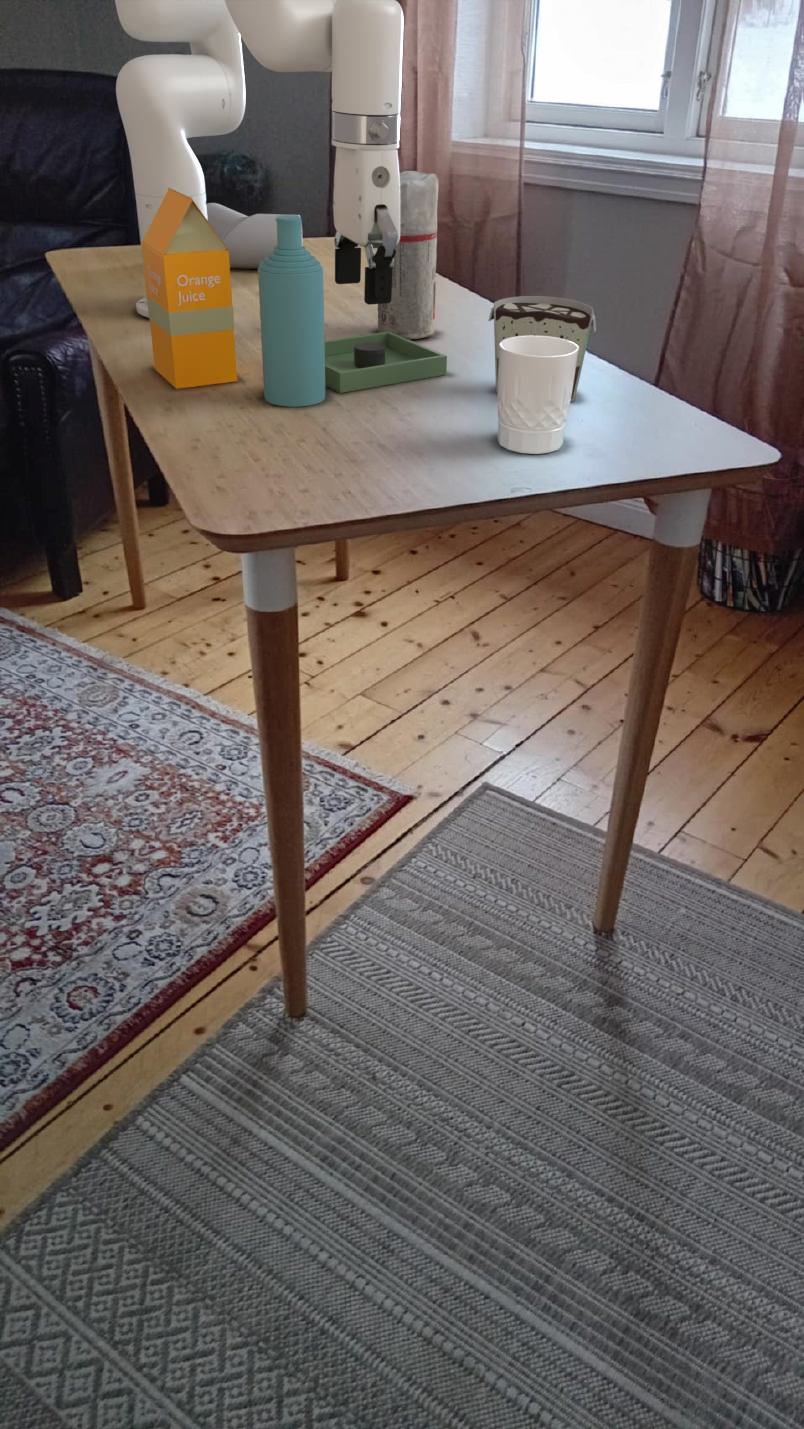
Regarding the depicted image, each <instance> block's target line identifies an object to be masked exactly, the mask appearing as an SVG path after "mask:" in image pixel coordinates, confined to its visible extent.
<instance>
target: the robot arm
mask: <svg viewBox="0 0 804 1429" xmlns="http://www.w3.org/2000/svg"><path fill="white" fill-rule="evenodd" d="M114 2H115V4H114V5H115V8H116V12H117V16H118V20H119V23H120V25H121V27H122V29H123V30H124V32H125V33H126V34H127V35H128V36H129V37H131V38H133V39H135V40H138V41H141V42H150V43H151V42H153V43H189V47H190V53H191V54H182V53H181V54H180V53H177V54H175V53H174V54H173V53H172V54H171V53H170V54H166V53H165V54H146V55H141V56H138V57H135V58H132V59H130V60H128V61H127V62H126V63H125V64H124V65H122V67H121V69H120V70H119V72H118V75H117V78H116V82H115V94H116V103H117V107H118V111H119V114H120V118H121V122H122V124H123V128H124V132H125V136H126V140H127V146H128V152H129V157H130V163H131V171H132V179H133V187H134V195H135V204H136V205H135V206H136V213H137V223H138V232H139V241H140V243H141V241H143V239H144V237H145V235H146V233H147V231H148V229H149V227H150V225H151V223H152V221H153V219H154V217H155V215H156V213H157V211H158V209H159V207H160V205H161V203H162V201H163V199H164V197H165V195H166V193H167V191H168V189H169V188H171V189H173V190H175V191H177V192H179V193H181V194H184V195H186V196H188V197H190V198H192V199H193V201H194V202H195V204H196V205H197V207H198V208H199V209H200V211H201V212H202V214H203V215H204V216H205V218H206V219H207V221H208V217H207V204H208V203H207V192H206V181H205V175H204V172H203V168H202V166H201V163H200V162H199V160H198V158H197V156H196V155H195V153H194V151H193V149H192V148H191V146H190V144H189V143H188V139H191V138H199V137H212V136H222V135H223V136H224V135H227V134H230V133H232V132H234V131H235V130H237V129H238V128H239V126H240V125H241V123H242V121H243V119H244V115H245V112H246V104H247V103H246V100H247V99H246V97H247V94H246V80H245V67H244V57H243V46H242V41H243V42H244V44H245V46H246V47H247V49H248V51H249V52H250V54H251V55H252V56H253V57H254V59H255V60H256V61H257V62H258V63H259V64H260V65H261V66H262V67H264V68H266V69H268V70H270V71H273V72H275V73H301V72H316V73H328V72H330V73H331V145H332V146H333V147H336V148H335V158H334V160H335V162H334V174H333V197H332V198H333V200H332V202H333V204H332V211H333V227H332V228H333V230H334V232H335V235H334V239H333V245H334V282H335V283H336V284H337V285H348V284H349V285H351V284H359V283H360V282H361V280H362V279H361V278H362V277H361V275H362V247H363V249H364V253H365V257H366V261H367V266H365V267H364V294H363V295H364V297H363V300H364V303H365V304H366V305H369V306H370V305H378V304H385V303H390V302H391V297H392V268H393V267H394V256H395V254H396V250H395V246H396V244H398V242H399V240H400V163H399V162H400V161H399V156H398V154H399V153H398V149H399V148H400V131H401V130H400V128H401V99H402V96H401V95H402V73H403V72H402V68H403V46H404V44H403V43H404V42H403V41H404V12H403V8H402V6H401V4H400V3H399V2H398V1H397V0H114ZM168 187H169V188H168ZM377 248H378V249H377ZM374 249H376V252H375V251H374ZM140 250H141V252H142V246H141V245H140ZM141 259H142V260H141V261H142V262H143V255H142V254H141ZM142 269H143V271H144V264H143V263H142ZM143 278H144V280H145V273H144V272H143ZM144 287H145V289H146V283H145V282H144ZM135 307H136V312H137V314H139V315H140V316H142V317H144V318H148V319H149V314H148V305H147V292H146V291H145V297H143V298H141V299H139V300H138V301H137V302H136V303H135Z"/></svg>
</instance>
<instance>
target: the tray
mask: <svg viewBox="0 0 804 1429" xmlns="http://www.w3.org/2000/svg"><path fill="white" fill-rule="evenodd" d="M363 342H375V343H380V344H383V345H385V365H379V366H372V367H366V368H357V367H355V366H354V345H356V344H358V343H363ZM324 344H325V387H328V388H330V389H332V390H333V391H335V392H337V393H339V394H342V393H349V392H354V391H361V390H366V389H371V388H377V387H383V386H390V385H395V384H401V383H406V382H412V381H417V380H423V379H429V378H430V379H431V378H435V377H440V376H445V375H447V366H448V365H447V364H448V355H446V354H443V353H442V352H439V351H437V350H434V349H431V348H429V347H427V346H425V345H422V344H420V343H417V342H415V341H412V340H411V339H406V338H403V337H401V336H398V335H396V334H394V333H391V332H389V331H387V332H381V333H379V332H375V333H367V334H362V335H361V334H360V335H353V336H347V337H341V338H334V339H326V340H324Z"/></svg>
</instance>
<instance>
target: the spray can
mask: <svg viewBox="0 0 804 1429" xmlns="http://www.w3.org/2000/svg"><path fill="white" fill-rule="evenodd" d="M399 174H400V240H399V242H398V244H396V246H395V250H396V254H395V256H394V267H393V268H392V297H391V302H390V303H385V304H377V331H378V333H381V332H387V331H389V332H391V333H394V334H396V335H398V336H401V337H403V338H406V339H408V340H417V339H418V340H419V339H425V338H429V337H431V336H434V335H435V334H436V328H435V321H436V290H437V289H436V288H437V287H436V283H437V281H436V280H437V257H438V256H437V243H438V238H437V237H438V236H437V235H438V233H437V232H438V201H439V186H440V184H439V183H440V179H439V177H438V176H437V174H435V173H424V172H418V170H405V171H402V172H399ZM377 249H378V248H376V250H377Z"/></svg>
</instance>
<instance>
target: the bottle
mask: <svg viewBox="0 0 804 1429" xmlns="http://www.w3.org/2000/svg"><path fill="white" fill-rule="evenodd" d="M281 215H282V216H278V217H277V218H276V221H277V245H278V246H276V247H274V251H271V252H270V253H269V255H268V256H266V257H265V260H263V261H261V262H260V266H259V267H258V269H257V276H258V279H257V280H258V296H259V299H258V300H259V316H260V317H259V318H260V335H261V336H260V337H261V355H262V356H261V357H262V359H261V360H262V378H263V379H262V380H263V394H264V395H263V396H264V397H263V398H264V400H265V401H266V402H267V403H270V404H272V405H275V406H280V407H290V408H299V407H309V406H314V405H318V404H320V403H322V402H324V401H325V399H326V385H325V344H324V341H325V296H324V295H325V294H324V293H325V292H324V267H323V266H322V264H321V262H320V261H319V260H317V257H315V256H314V255H312V253H311V252H310V251H309V250H307V248H306V247H305V246H302V240H303V226H302V227H301V223H303V220H302V216H300V217H299V216H294V215H295V214H281Z"/></svg>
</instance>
